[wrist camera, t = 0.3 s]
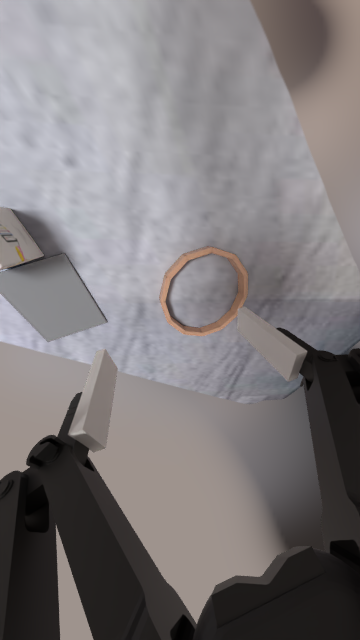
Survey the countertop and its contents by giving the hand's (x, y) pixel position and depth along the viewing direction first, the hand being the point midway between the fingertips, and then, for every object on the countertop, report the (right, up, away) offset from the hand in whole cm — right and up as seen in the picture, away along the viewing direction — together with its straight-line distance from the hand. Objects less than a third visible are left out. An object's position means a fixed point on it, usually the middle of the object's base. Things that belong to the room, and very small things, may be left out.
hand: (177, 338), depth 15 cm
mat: (-29, +6, +21) cm, 37 cm away
